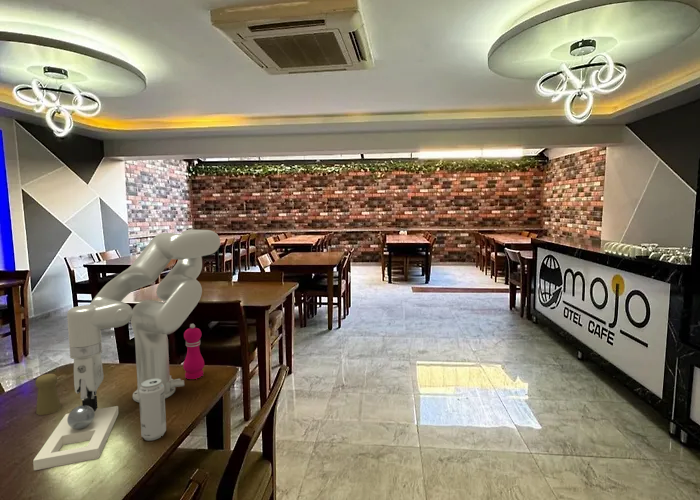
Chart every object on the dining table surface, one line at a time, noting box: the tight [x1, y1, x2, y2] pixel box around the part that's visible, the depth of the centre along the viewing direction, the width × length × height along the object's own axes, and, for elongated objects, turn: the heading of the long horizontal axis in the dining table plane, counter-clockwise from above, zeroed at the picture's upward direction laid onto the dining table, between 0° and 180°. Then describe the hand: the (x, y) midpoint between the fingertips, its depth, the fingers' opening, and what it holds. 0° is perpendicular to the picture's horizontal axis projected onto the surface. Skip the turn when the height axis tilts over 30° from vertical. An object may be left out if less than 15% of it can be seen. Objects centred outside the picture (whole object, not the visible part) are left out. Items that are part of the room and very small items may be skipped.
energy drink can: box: [138, 378, 167, 442], centre depth 102 cm, size 6×6×15 cm
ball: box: [67, 404, 95, 430], centre depth 101 cm, size 6×6×6 cm
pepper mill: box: [182, 323, 205, 380], centre depth 138 cm, size 7×7×20 cm
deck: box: [32, 405, 119, 471], centre depth 101 cm, size 13×22×2 cm, turn 21°
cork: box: [34, 373, 62, 416], centre depth 115 cm, size 6×6×11 cm
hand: (90, 410), depth 109 cm, fingers closed
